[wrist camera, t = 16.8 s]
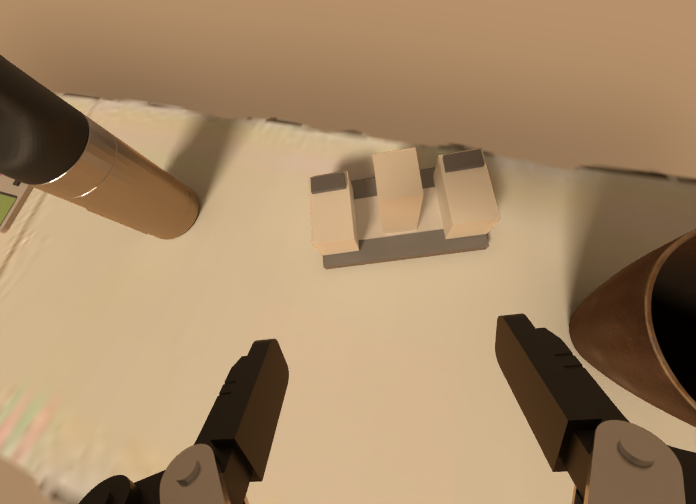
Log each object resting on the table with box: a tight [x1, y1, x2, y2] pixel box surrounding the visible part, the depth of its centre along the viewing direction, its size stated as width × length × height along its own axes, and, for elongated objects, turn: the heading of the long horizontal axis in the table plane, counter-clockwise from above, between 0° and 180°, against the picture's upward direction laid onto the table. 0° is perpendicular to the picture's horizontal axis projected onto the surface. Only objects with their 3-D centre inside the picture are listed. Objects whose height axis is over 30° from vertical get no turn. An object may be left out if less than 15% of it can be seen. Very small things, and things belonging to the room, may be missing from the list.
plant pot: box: [569, 229, 696, 427], centre depth 24 cm, size 15×15×16 cm
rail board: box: [308, 148, 501, 269], centre depth 36 cm, size 21×12×7 cm, turn 95°
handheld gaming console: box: [0, 173, 34, 233], centre depth 53 cm, size 10×2×15 cm
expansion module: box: [372, 147, 424, 235], centre depth 33 cm, size 4×6×10 cm
